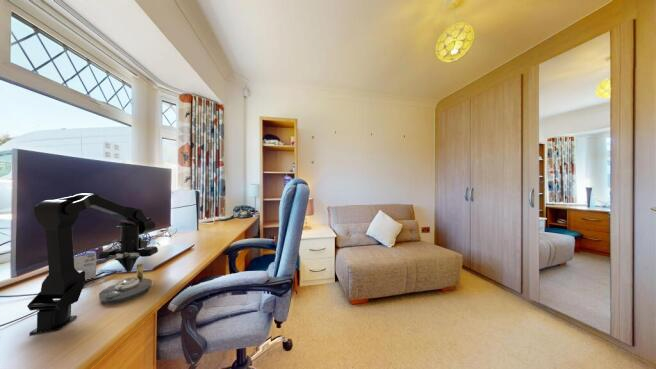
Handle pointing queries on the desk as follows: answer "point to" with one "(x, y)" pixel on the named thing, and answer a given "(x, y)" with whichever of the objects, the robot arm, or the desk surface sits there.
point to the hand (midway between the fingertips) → (129, 271)
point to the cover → (126, 284)
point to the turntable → (112, 295)
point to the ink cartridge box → (86, 263)
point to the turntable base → (125, 299)
